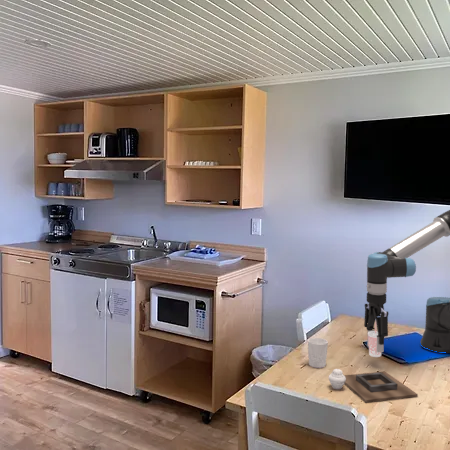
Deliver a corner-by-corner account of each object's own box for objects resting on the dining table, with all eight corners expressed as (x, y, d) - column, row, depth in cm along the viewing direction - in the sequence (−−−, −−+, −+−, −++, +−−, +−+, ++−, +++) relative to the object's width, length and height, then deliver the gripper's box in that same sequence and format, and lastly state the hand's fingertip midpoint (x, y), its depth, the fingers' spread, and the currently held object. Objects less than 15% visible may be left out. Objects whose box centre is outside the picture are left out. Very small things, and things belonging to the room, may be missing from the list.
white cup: (328, 362, 192) (328, 339, 191) (325, 369, 184) (326, 345, 183) (308, 360, 194) (309, 336, 193) (305, 367, 187) (306, 342, 186)
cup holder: (384, 373, 181) (385, 366, 181) (417, 396, 161) (417, 388, 161) (337, 378, 176) (338, 370, 176) (365, 402, 157) (366, 394, 156)
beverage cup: (375, 358, 184) (375, 324, 183) (363, 353, 190) (364, 320, 188) (386, 356, 187) (387, 322, 186) (375, 351, 192) (375, 318, 191)
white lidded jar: (342, 392, 164) (343, 373, 163) (325, 388, 167) (326, 369, 167) (347, 386, 169) (348, 367, 169) (331, 382, 173) (332, 364, 172)
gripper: (355, 288, 194) (354, 341, 196) (381, 299, 176) (380, 358, 178) (372, 286, 196) (370, 340, 198) (399, 297, 177) (397, 356, 180)
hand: (375, 348), depth 188 cm, fingers closed on beverage cup, 6 cm apart
